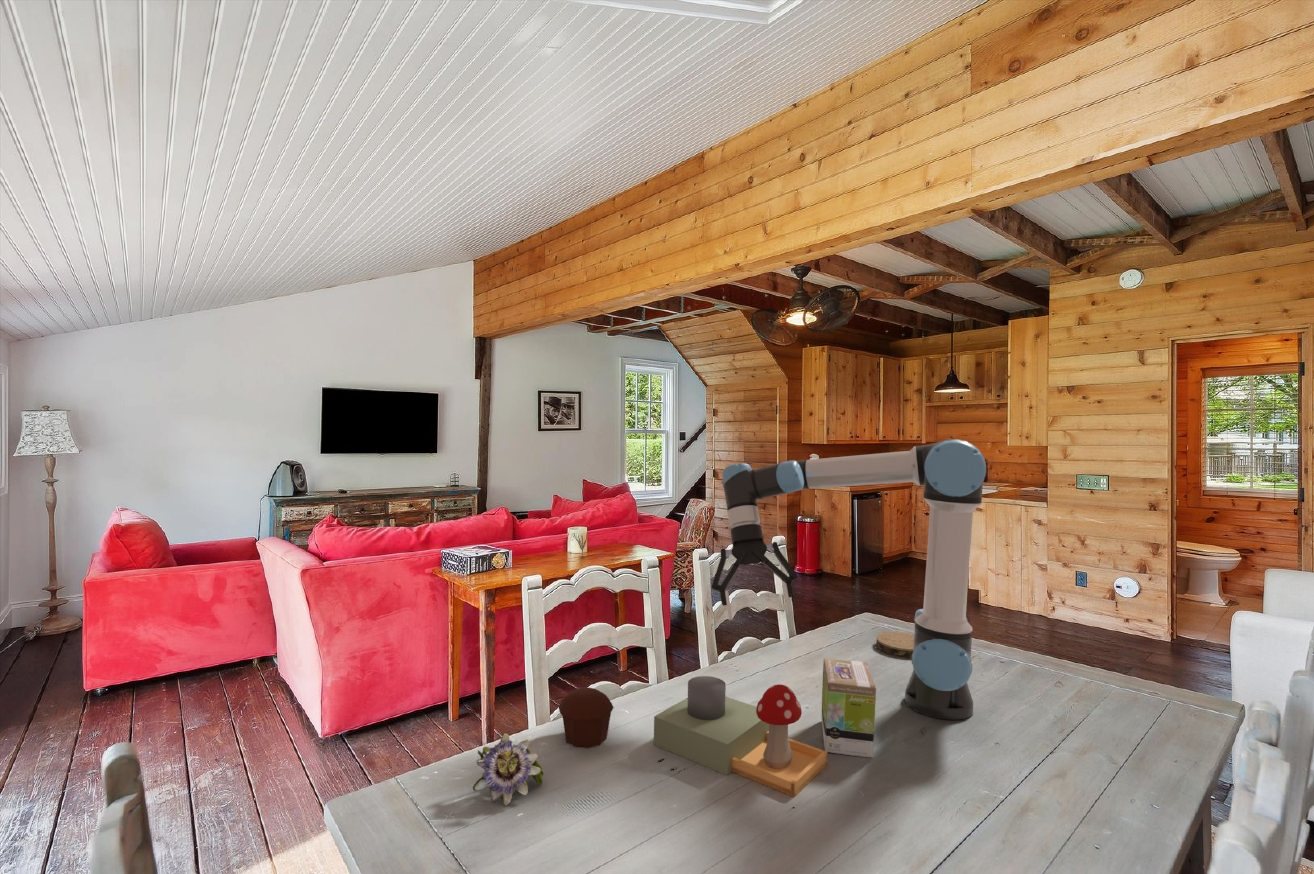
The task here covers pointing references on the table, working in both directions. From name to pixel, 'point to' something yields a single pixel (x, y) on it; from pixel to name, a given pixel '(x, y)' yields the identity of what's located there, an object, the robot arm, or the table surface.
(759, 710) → the decorative mushroom
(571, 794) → the table surface
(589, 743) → the muffin
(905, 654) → the wood slice
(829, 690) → the tea box
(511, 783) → the passion flower
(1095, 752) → the table surface
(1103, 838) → the table surface
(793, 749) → the green drawer box
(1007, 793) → the table surface
